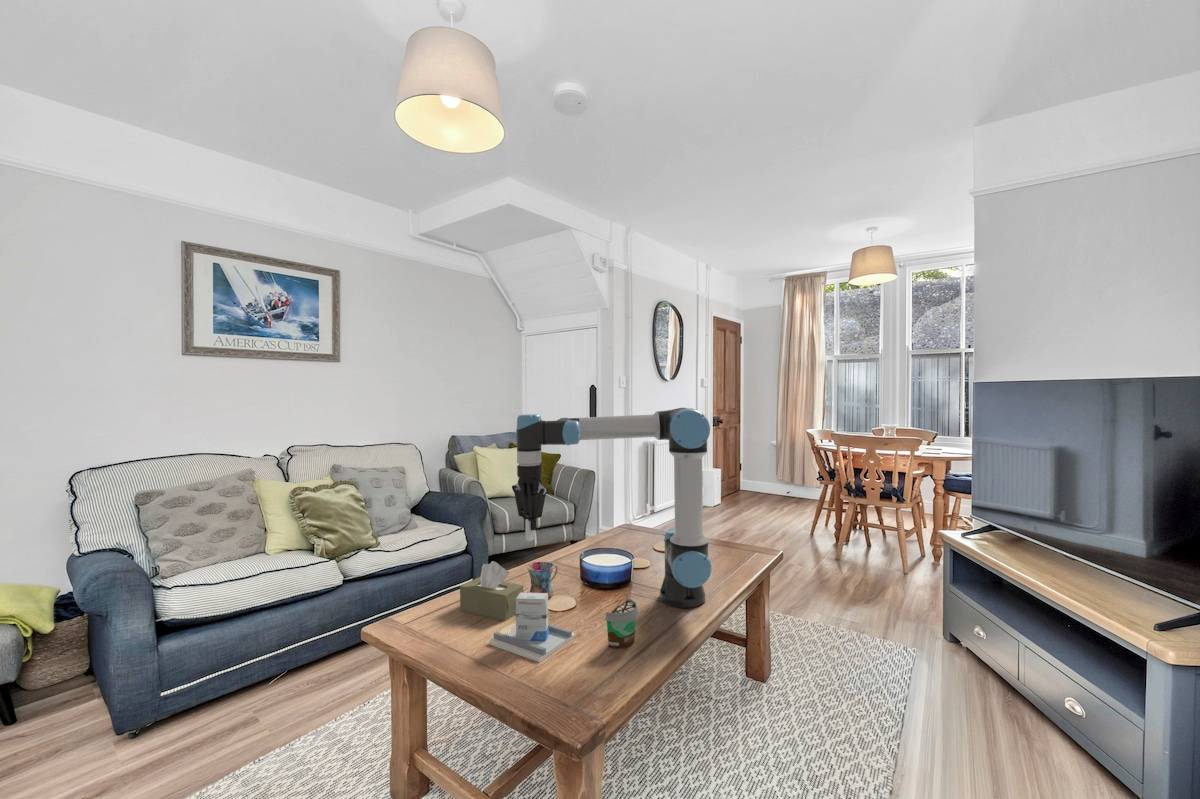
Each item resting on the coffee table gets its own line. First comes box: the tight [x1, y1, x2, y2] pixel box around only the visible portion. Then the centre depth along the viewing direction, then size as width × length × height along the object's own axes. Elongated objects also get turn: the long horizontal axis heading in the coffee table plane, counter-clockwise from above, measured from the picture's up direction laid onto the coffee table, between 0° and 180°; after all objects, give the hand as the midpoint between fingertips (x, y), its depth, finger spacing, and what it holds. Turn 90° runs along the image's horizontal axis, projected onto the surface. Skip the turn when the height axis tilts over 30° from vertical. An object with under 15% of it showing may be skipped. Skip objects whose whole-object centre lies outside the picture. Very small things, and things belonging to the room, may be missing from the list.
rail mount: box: [488, 623, 576, 663], centre depth 144 cm, size 18×16×2 cm
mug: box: [526, 561, 559, 599], centre depth 176 cm, size 12×9×11 cm
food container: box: [605, 597, 640, 649], centre depth 142 cm, size 12×6×10 cm, turn 148°
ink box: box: [515, 592, 549, 641], centre depth 144 cm, size 8×5×12 cm, turn 85°
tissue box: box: [459, 560, 524, 622], centre depth 165 cm, size 19×10×16 cm, turn 63°
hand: (530, 539), depth 158 cm, fingers closed
